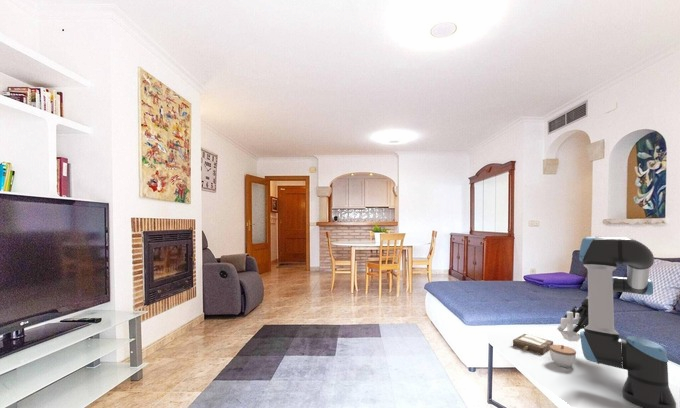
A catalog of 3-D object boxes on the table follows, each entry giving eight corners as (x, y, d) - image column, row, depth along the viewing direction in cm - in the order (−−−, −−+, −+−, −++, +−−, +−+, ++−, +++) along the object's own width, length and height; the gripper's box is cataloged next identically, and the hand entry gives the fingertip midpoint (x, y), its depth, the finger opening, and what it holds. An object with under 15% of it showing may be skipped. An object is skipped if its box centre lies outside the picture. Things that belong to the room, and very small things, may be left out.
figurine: (557, 337, 176) (556, 309, 177) (575, 337, 175) (574, 310, 177) (566, 341, 169) (565, 313, 170) (584, 342, 168) (583, 313, 169)
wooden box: (540, 356, 166) (540, 348, 167) (510, 347, 178) (510, 340, 178) (553, 347, 179) (553, 340, 179) (524, 340, 190) (524, 333, 191)
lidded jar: (581, 370, 151) (580, 350, 152) (555, 368, 153) (555, 348, 154) (569, 361, 162) (569, 342, 162) (546, 359, 164) (545, 340, 164)
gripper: (613, 313, 163) (582, 345, 162) (583, 303, 183) (556, 331, 182) (602, 302, 164) (572, 334, 163) (574, 294, 184) (546, 322, 183)
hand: (563, 332), depth 173 cm, fingers closed on figurine, 7 cm apart
